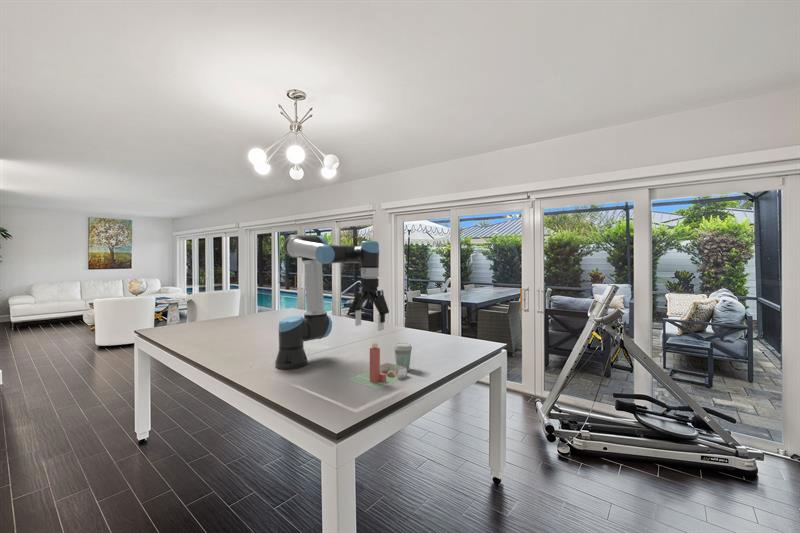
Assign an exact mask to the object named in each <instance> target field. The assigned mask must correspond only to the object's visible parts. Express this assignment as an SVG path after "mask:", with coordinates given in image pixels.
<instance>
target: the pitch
mask: <svg viewBox="0 0 800 533" xmlns="http://www.w3.org/2000/svg"><path fill="white" fill-rule="evenodd" d="M346 380H348V381H350V382H353V383H356V384H359V385H361V386H365V387H367V388H370V389H373V390H375V391H377V390H380V389H382V388H385V387H387V386H389V385H392V384H394V383H396V382H399V381H400V379H396V378H394V377H388V376H387V375H386V381H385V382H381V381H379V382H376V383H373V382H370V370H368V371H366V372H363V373H361V374H357V375H355V376H352V377H349V378H347V379H346Z"/></svg>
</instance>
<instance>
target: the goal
mask: <svg viewBox="0 0 800 533" xmlns="http://www.w3.org/2000/svg"><path fill="white" fill-rule="evenodd" d="M389 370H392V371H394V373H395V379H398V380H401V379H404V378H405V377H408V371H407V367H404V366H400V365H396V363H392V362H388V361H386V362H383V363H380V372H381V373H385V372H386V373H387V372H388V371H389Z"/></svg>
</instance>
